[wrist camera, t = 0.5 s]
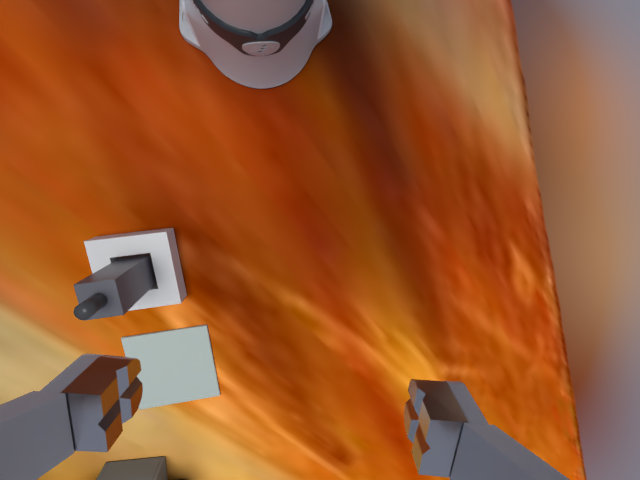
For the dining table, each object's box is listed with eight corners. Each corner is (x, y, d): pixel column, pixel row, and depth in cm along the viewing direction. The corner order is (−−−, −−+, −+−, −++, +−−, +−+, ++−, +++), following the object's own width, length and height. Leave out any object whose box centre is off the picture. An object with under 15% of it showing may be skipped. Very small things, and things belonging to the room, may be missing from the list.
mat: (122, 337, 48) (121, 338, 47) (207, 324, 49) (206, 325, 49) (140, 407, 50) (139, 409, 50) (220, 393, 52) (219, 395, 51)
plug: (125, 255, 45) (54, 295, 31) (155, 251, 46) (100, 289, 31) (131, 282, 46) (66, 334, 32) (161, 278, 47) (110, 327, 32)
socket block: (96, 236, 44) (83, 241, 41) (173, 227, 45) (166, 231, 42) (114, 305, 46) (103, 314, 44) (186, 295, 48) (181, 303, 45)
